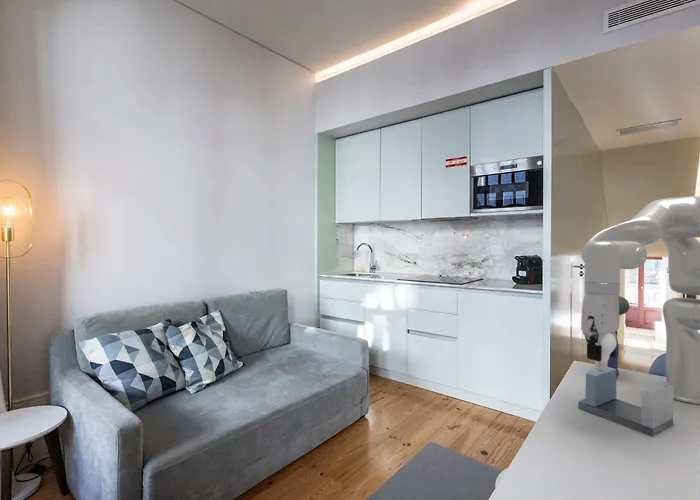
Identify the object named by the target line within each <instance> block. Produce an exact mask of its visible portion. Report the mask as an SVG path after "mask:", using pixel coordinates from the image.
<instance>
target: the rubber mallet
mask: <svg viewBox="0 0 700 500" xmlns="http://www.w3.org/2000/svg"><path fill="white" fill-rule="evenodd" d="M618 302H619V317H620V316H621V315H624V314H626V313H628V312H629V309H630V303H629V301H628V299H627V298H625V297H623V296H621V295H620V296H618ZM616 338H617V340H616V342H617V345H616V356H615V357H610V356H609V359H608V363H607V364H608V365H607V367H610V368H614V369H616V379H618V377H619V375H620V374H619V373H620V372H619V370H618V367H619V366H618V364H619V363H618V359H619V350H620V349H619V348H620V346H619V341H618V334H617V335H616Z"/></svg>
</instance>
